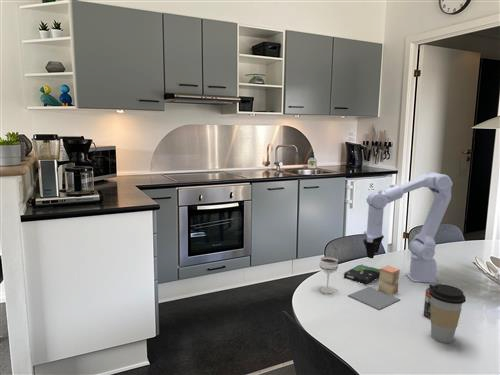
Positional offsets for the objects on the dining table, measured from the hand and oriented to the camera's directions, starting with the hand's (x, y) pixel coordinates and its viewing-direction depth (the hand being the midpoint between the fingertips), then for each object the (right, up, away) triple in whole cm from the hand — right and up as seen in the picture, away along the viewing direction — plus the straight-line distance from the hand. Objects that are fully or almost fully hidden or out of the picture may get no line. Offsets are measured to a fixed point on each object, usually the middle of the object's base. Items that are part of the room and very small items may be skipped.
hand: (372, 255), depth 152 cm
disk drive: (-3, -10, +4) cm, 11 cm away
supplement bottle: (+11, -15, -28) cm, 34 cm away
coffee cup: (+7, -17, -41) cm, 45 cm away
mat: (-5, -13, -16) cm, 21 cm away
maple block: (+2, -12, -10) cm, 16 cm away
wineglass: (-21, -12, -10) cm, 26 cm away
